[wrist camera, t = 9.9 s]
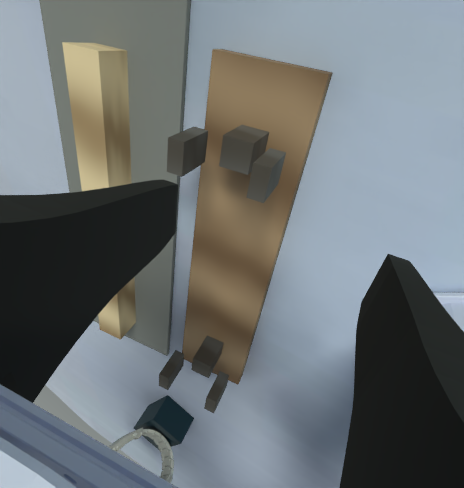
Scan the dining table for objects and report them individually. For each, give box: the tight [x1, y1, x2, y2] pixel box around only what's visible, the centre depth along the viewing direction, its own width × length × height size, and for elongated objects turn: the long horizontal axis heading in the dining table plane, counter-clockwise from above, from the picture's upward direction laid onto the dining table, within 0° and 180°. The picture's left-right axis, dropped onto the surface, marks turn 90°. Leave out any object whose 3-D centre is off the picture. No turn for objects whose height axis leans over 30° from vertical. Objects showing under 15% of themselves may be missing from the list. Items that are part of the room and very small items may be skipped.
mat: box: [39, 0, 191, 356], centre depth 26 cm, size 30×10×1 cm, turn 171°
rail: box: [62, 42, 136, 339], centre depth 25 cm, size 24×2×2 cm, turn 171°
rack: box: [159, 49, 332, 413], centre depth 21 cm, size 26×6×6 cm, turn 171°
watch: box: [109, 395, 194, 483], centre depth 36 cm, size 6×8×11 cm
